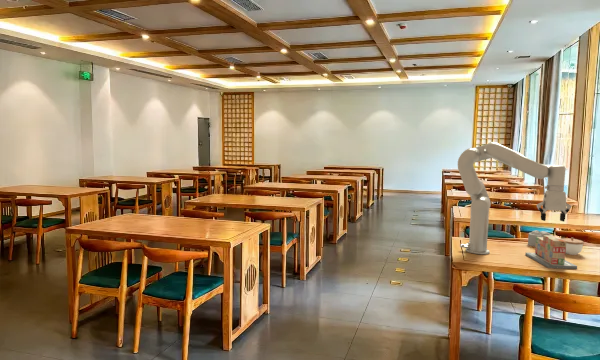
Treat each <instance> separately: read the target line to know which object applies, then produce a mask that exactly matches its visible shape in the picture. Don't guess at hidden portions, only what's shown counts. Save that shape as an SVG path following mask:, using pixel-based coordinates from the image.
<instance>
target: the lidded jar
mask: <svg viewBox="0 0 600 360" xmlns="http://www.w3.org/2000/svg"><path fill="white" fill-rule="evenodd" d="M562 239H563V240H564V241H566V242H567V243H566V252H565V255H570V256H577V255H578V254H580V253H581V252H582V250H583V246H584V241H583V240H581V239H577V238H574V237H571V238H568V237H567V238H564V237H563V238H562Z"/></svg>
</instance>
